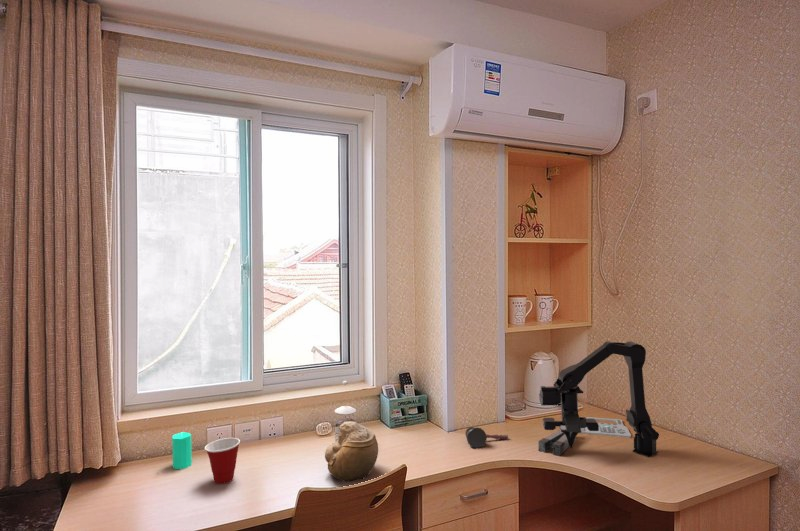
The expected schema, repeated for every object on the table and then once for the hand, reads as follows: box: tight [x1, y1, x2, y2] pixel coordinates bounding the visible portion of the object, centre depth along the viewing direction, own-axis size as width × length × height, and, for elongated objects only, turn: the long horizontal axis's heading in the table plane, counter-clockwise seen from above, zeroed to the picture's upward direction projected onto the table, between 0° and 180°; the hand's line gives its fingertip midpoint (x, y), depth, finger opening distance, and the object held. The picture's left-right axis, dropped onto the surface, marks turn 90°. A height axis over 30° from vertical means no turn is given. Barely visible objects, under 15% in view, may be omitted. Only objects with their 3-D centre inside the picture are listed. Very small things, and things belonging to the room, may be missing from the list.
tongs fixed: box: [538, 429, 565, 453], centre depth 185 cm, size 22×4×5 cm, turn 136°
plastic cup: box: [204, 437, 241, 485], centre depth 157 cm, size 11×11×12 cm
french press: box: [334, 380, 357, 442], centre depth 185 cm, size 10×12×25 cm
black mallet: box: [464, 426, 509, 449], centre depth 187 cm, size 8×18×8 cm
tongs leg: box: [552, 434, 577, 456], centre depth 182 cm, size 18×3×4 cm, turn 143°
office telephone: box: [580, 416, 632, 439], centre depth 204 cm, size 23×3×20 cm
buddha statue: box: [324, 421, 379, 483], centre depth 161 cm, size 20×17×17 cm
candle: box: [171, 431, 193, 470], centre depth 169 cm, size 6×6×12 cm
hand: (570, 447), depth 178 cm, fingers closed
